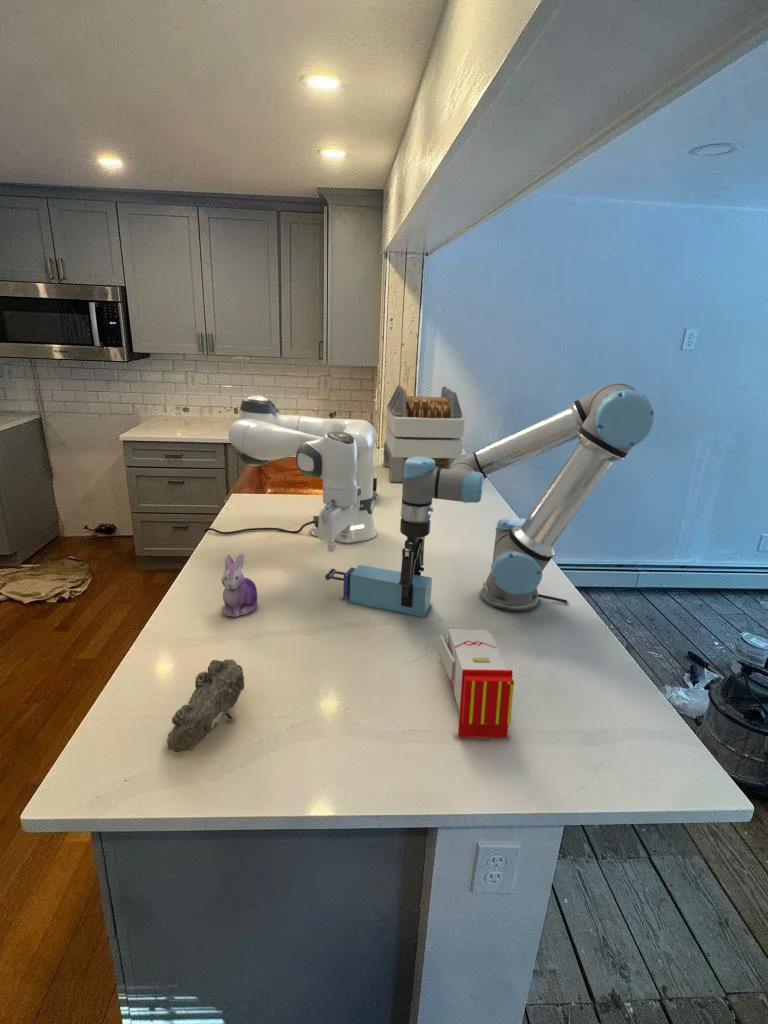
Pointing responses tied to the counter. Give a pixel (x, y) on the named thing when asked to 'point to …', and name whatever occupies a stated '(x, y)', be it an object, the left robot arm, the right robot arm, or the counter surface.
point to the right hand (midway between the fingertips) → (410, 599)
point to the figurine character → (374, 487)
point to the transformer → (422, 430)
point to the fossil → (206, 705)
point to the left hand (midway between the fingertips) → (338, 544)
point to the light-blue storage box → (388, 590)
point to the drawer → (346, 579)
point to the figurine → (237, 589)
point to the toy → (478, 682)
